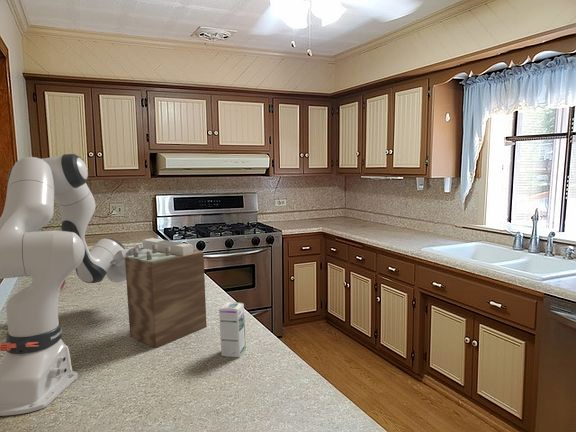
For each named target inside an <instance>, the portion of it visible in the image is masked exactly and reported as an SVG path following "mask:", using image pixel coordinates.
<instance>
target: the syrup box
mask: <svg viewBox="0 0 576 432" xmlns="http://www.w3.org/2000/svg"><path fill="white" fill-rule="evenodd" d="M218 314H219V315H218V317H219V334H220V337H219V338H220V349H221V350H220V352H221V356H222V357H228V358H241V356H242V355H243V353H244V352H245V351H246V348H247V346H246V326H245V325H246V323H245V321H246V320H245V305H244V303H243V302H238V301H237V302H236V301H226V302H225V303H224V304H223V305H222V306H220V307H219V309H218Z"/></svg>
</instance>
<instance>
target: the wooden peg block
mask: <svg viewBox="0 0 576 432" xmlns="http://www.w3.org/2000/svg"><path fill="white" fill-rule="evenodd" d="M152 249H153V251H147V252H146V253H141V254H138V248H135V249H133V252H134V255H131V256H127V258H125V266H126V281H125V282H126V294H127V307H128V308H127V310H128V323H129V325H128V326H129V327H128V328H129V337H130V338H132V339H133V340H136V341H138V342H141V343H143V344H146V345H148V346H151V347H153V348H155V349H158V348H161V347H163V346H165V345H166V344H170V343H171V342H174V341H177V340H179V339H181V338H185V337H186V336H188V335H191V334H193V333H196V332H198V331H201V330H202V329H205V328H207V325H208V324H207V310H206V309H207V306H206V305H207V303H206V284H205V283H206V281H205V259H204V258H205V257H204V256H205V255H204V251H199V250H194V249H193V254H190V255H185V256H181V255H176V254H171V253H170V247H166V253H165V252H160V251H157V245H152Z"/></svg>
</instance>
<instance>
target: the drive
mask: <svg viewBox="0 0 576 432" xmlns="http://www.w3.org/2000/svg"><path fill="white" fill-rule="evenodd" d="M142 245H143V248H144V249H150V250H153V249H152V245H157V251H160V252H165V253H166V247H170V253H171V254H176V255H181V256H185V255H190V254H193V250H194V246H193V245H194V244H191V243H184V242H178V241H172V240H167V239H161V238H155V237H150V238H145V239H142Z"/></svg>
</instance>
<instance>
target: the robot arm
mask: <svg viewBox="0 0 576 432" xmlns="http://www.w3.org/2000/svg"><path fill="white" fill-rule="evenodd" d="M88 179H89V172H88V167H87V165H86V163H85V161H84V160H83V158H82V157H81V156H79V155H77V154H75V153H64V154H62V155H58V156H57V155H56V156H51V157H46V158H39V157H35V156H26V157H22V158H21V159H18V160H17V161H16V162H14V165H13V166H12V168H11V169H10V171H9V173H8V175H7V188H6V195H5V196H6V197H5V203H4V207H3V211H2V214H1V216H0V279H1V280H3V279H13V278H23V277H31V279H32V281H31V282H32V283H30V285H28V286H26V287H24V288H23V289H21V290H19V291H17V292H15V293H14V294H13V295H11V297H10V298H9V299H8V300H7V301H6V305H5V312H6V322H7V331H8V332H7V333H6V338H5V342H1V343H0V352H5V354H4V356H3V358H2V360H1V362H0V417H1V416H3V417H5V416H15V415H22V414H27V413H32V412H36V411H39V410H42V409H44V408H46V407H48V405H50V404H51V402H53V401H54V400H55V399H56V398H57V397H58V396H59V395H60V394H62V393H63V392H64V391H65V389H67V388H68V387H69V386H70V385H71V384H72V383H73V382H75V380H77V379H78V378H79V373H78V372H77V371H75V370H73V368H72V361H71V355H70V348H69V347H68V346H67V345H66V344H65V343H64V341H63V339H62V338H63V329H62V326H61V325H62V324H61V323H60V322H59V295H60V292H61V291H60V290H61V289H62V288H61V286H62V284H63V282H64V280H65V281H66V279H67V278H68V276H69V275H71V273H72V272H73V271H75V273H76V275H77V277H78V278H79V279H80V280H81V281H82V282H84V283H86V284H96V283H97V284H98V283H100V282H103V280H104V278H105V277H106V278H107V279H108V280H109V281H110V282H111V283H124V282H127V281H126V266H125V258H127V256H131V255H134V252H133V249H135V248H138V254H141V253H146V252H147V251H153V250H150V249H144V248H143V243H142V244H138V245H135V246H131V247H129V248H125V246H124V245H123V244H122V243H121V242H119V241H118V240H117V239H114V238H111V237H103V238H100V239H99V240H98V241H97V242H96V243H95V244H94V245H93V247H92V248H91V249H89V247H88V244H87V241H86V239H85V236H86V231H87V228H88V225H89V223H90V221H91V220H92V217H93V215H94V213H95V210H96V200H95V198H94V196H93V193H92V191H91V189H90V188H89V186H88V184H87V181H88ZM55 203H56V205H57V206H58V208H59V212H60V215H61V216H60V217H61V227H60V228H61V230H56V229H55V230H54V229H53V230H40V229H43V228H44V227H46V226H47V225H48V224H49V223H50V222H51V220H52V219H53V217H54V214H55V213H54V211H55ZM60 288H61V289H60Z"/></svg>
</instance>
